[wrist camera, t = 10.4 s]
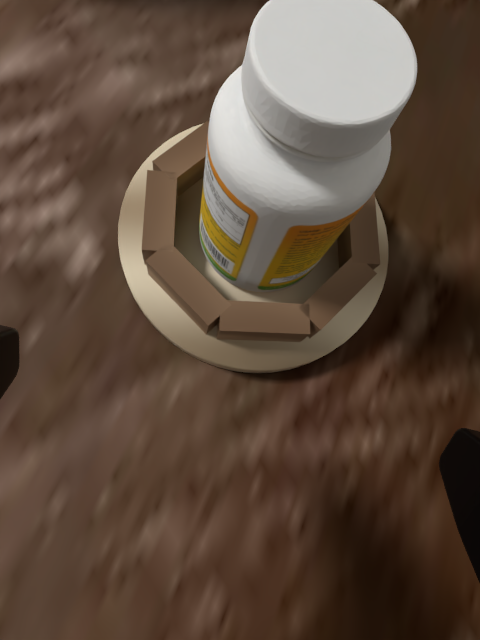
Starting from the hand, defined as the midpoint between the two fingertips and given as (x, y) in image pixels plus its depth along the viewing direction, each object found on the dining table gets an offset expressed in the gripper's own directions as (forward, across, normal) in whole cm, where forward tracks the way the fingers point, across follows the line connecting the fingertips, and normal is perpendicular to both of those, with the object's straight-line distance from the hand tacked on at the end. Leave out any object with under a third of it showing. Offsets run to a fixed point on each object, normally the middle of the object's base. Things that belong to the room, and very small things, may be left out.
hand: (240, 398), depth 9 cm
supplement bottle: (+12, 0, 0) cm, 12 cm away
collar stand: (+12, 0, -1) cm, 12 cm away
